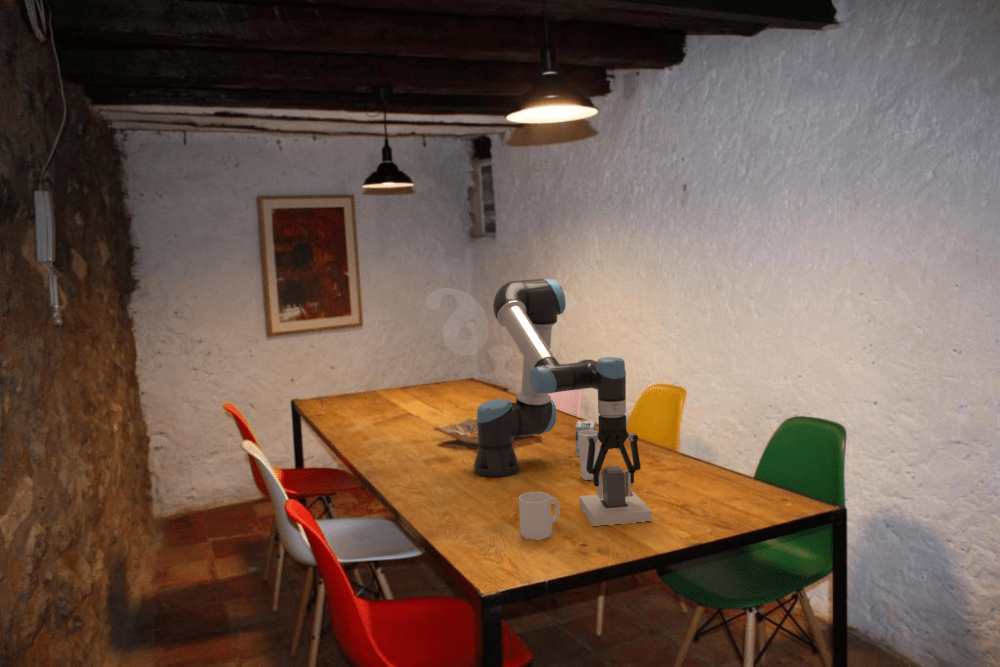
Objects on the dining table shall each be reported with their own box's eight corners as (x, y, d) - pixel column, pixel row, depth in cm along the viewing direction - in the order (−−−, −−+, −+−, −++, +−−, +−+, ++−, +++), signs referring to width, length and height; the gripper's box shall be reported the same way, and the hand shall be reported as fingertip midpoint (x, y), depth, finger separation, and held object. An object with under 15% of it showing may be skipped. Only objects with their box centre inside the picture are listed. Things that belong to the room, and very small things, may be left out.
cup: (514, 533, 195) (512, 496, 194) (550, 522, 201) (549, 486, 200) (532, 543, 188) (531, 504, 187) (569, 531, 195) (568, 494, 193)
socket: (593, 526, 197) (593, 513, 197) (579, 506, 213) (579, 493, 213) (651, 521, 199) (651, 508, 199) (633, 501, 215) (633, 489, 215)
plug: (608, 517, 203) (606, 471, 202) (603, 511, 208) (601, 466, 207) (625, 516, 204) (624, 470, 203) (620, 510, 209) (619, 464, 207)
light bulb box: (594, 457, 261) (594, 427, 260) (575, 456, 263) (574, 427, 261) (597, 449, 272) (596, 420, 270) (578, 448, 273) (577, 419, 272)
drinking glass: (602, 476, 240) (601, 430, 238) (598, 482, 234) (597, 435, 232) (581, 474, 242) (580, 429, 240) (577, 481, 236) (575, 434, 234)
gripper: (578, 420, 198) (581, 503, 201) (652, 415, 200) (654, 497, 203) (572, 414, 205) (575, 494, 208) (643, 409, 208) (645, 488, 211)
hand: (614, 495), depth 206 cm, fingers open, 7 cm apart
